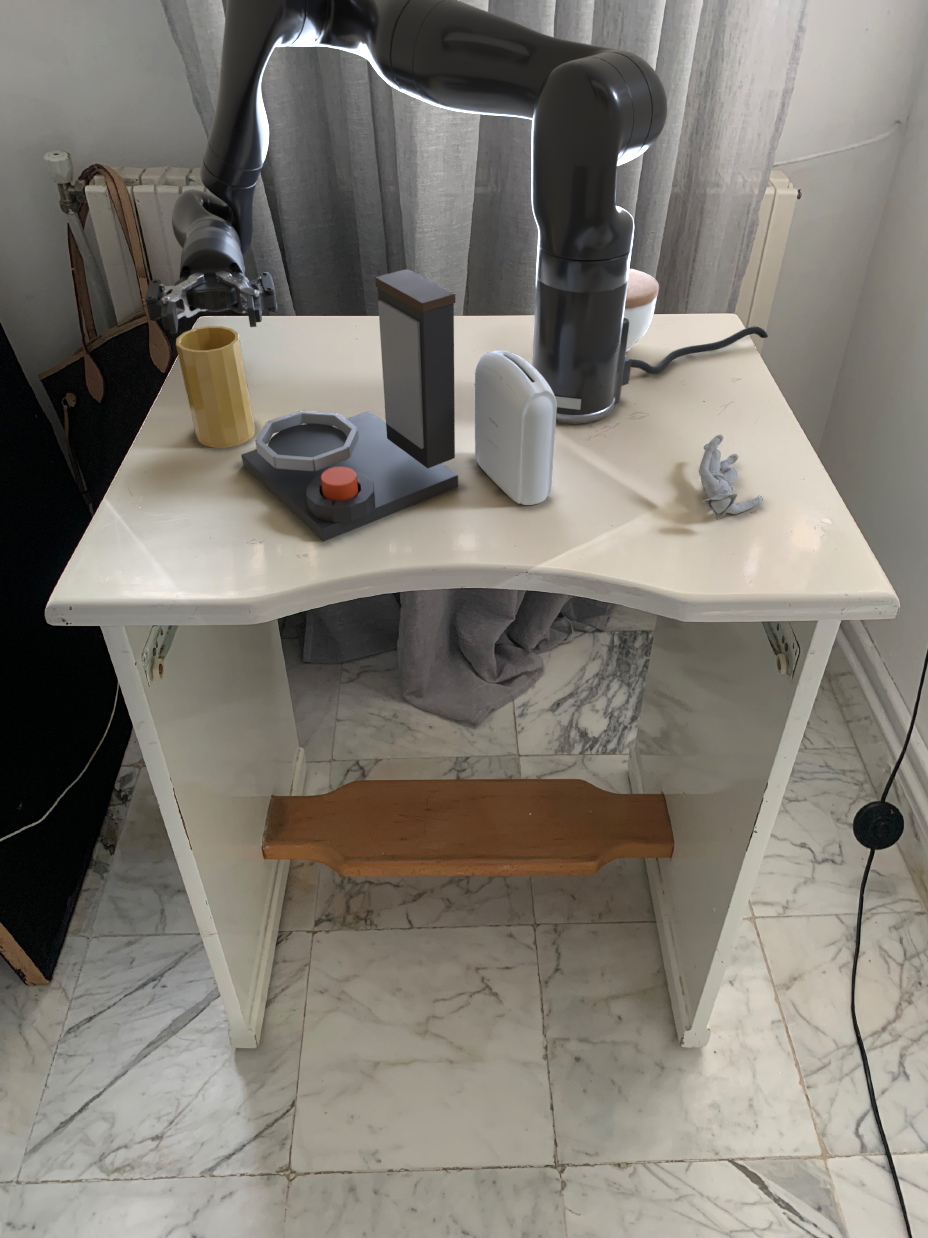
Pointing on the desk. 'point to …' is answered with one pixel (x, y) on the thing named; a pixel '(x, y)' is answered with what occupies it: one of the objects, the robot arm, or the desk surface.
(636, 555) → the desk surface
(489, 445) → the photo printer
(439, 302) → the coffee maker
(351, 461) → the brewer base
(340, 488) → the button
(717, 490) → the soldier figure
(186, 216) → the robot arm
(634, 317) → the trinket box
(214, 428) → the cup
